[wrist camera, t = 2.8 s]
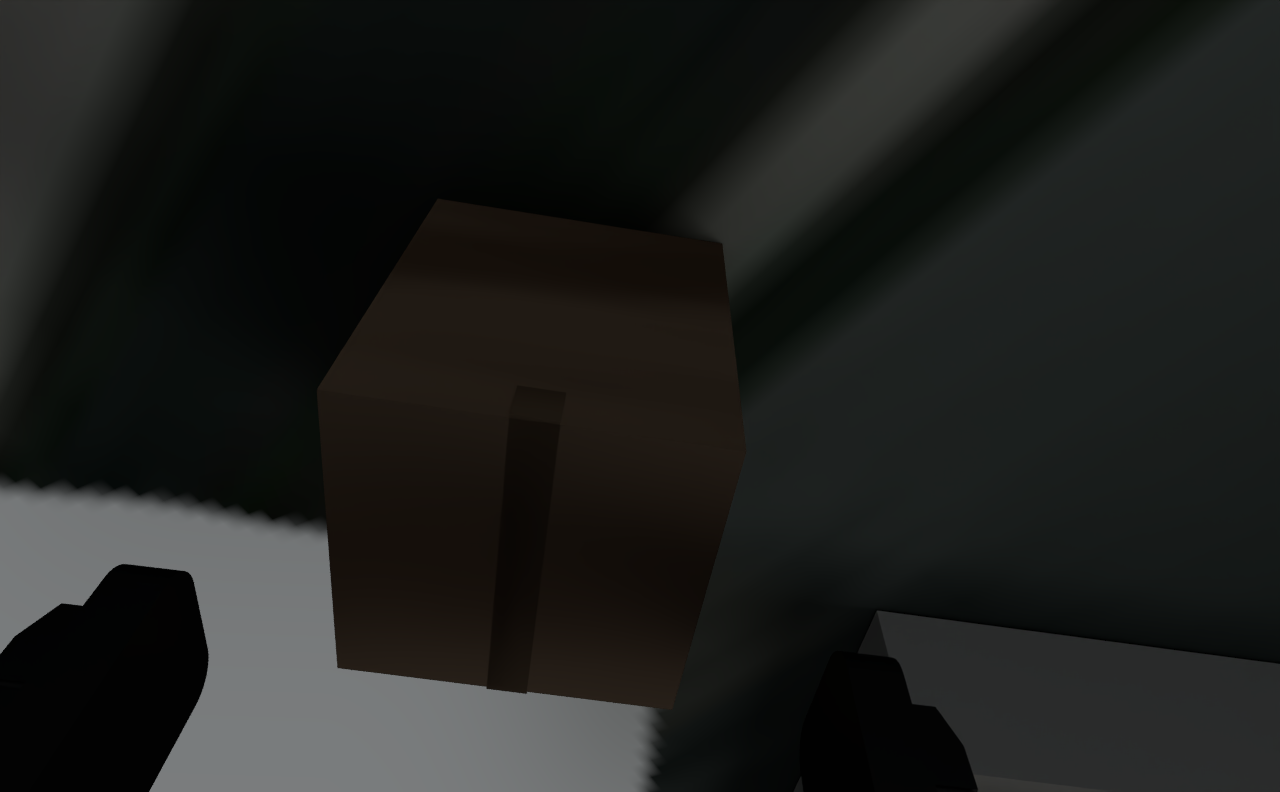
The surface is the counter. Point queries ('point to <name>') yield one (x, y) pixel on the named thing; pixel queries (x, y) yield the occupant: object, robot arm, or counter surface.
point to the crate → (532, 457)
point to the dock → (1089, 708)
